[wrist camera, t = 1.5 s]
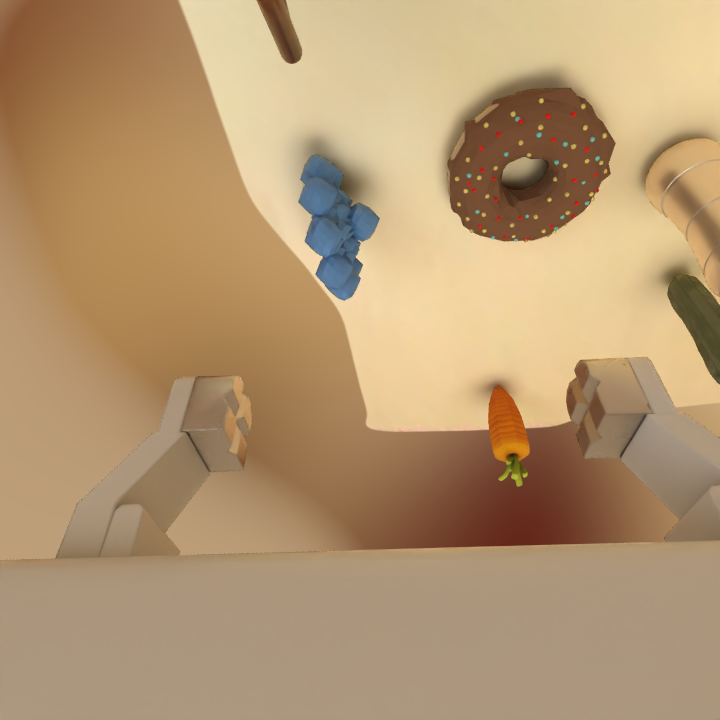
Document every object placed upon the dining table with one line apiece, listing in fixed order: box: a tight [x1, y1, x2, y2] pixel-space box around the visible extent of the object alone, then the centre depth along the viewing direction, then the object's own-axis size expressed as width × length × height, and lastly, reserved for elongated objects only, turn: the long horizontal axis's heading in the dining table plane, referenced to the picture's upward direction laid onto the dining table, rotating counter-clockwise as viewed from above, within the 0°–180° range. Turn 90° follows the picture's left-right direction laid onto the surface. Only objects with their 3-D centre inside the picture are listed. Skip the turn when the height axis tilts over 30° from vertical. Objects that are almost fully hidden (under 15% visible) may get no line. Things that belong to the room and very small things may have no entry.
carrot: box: [488, 386, 530, 486], centre depth 68 cm, size 5×5×15 cm
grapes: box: [299, 154, 380, 300], centre depth 46 cm, size 12×7×12 cm, turn 14°
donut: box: [447, 88, 615, 242], centre depth 45 cm, size 14×14×5 cm
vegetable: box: [667, 275, 720, 384], centre depth 50 cm, size 4×4×20 cm
